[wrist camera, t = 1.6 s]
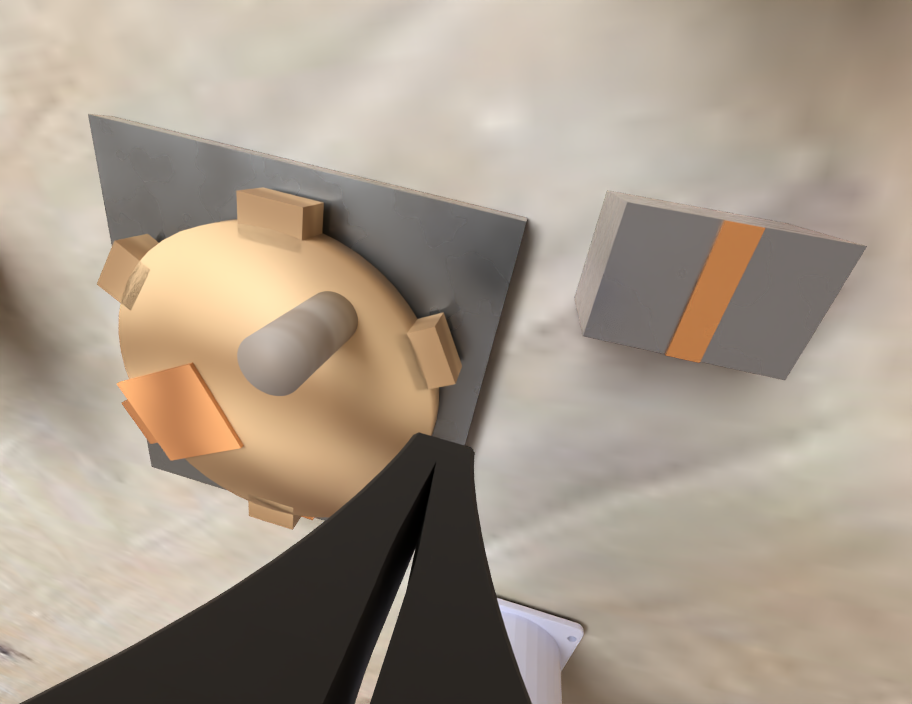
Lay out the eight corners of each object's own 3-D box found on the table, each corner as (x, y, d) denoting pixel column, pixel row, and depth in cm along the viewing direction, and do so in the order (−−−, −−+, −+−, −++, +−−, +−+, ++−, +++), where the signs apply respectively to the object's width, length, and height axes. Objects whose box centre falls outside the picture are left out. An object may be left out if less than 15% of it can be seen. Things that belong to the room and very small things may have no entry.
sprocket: (419, 541, 22) (384, 652, 17) (160, 462, 23) (58, 544, 18) (491, 244, 15) (467, 290, 10) (108, 148, 16) (-86, 145, 11)
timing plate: (438, 539, 23) (433, 557, 22) (165, 455, 25) (148, 469, 24) (527, 217, 15) (526, 222, 14) (112, 116, 17) (82, 113, 15)
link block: (785, 222, 14) (869, 247, 10) (730, 329, 16) (786, 381, 12) (606, 190, 15) (627, 202, 11) (574, 296, 16) (583, 337, 13)
